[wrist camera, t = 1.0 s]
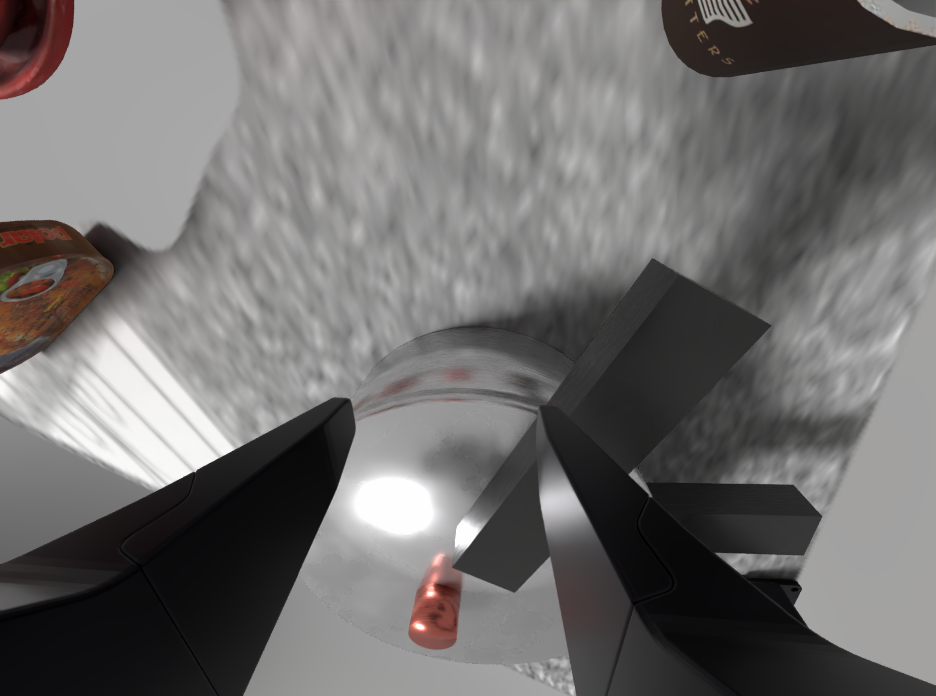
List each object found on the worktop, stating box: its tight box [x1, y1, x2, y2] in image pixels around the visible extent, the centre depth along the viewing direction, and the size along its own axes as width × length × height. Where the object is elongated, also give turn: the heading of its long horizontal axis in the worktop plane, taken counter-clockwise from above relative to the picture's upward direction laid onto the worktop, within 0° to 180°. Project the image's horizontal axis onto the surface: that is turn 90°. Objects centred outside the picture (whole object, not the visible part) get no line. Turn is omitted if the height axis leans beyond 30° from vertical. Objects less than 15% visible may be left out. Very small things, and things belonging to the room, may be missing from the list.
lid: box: [299, 258, 771, 664], centre depth 17 cm, size 25×19×3 cm
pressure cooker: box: [351, 327, 822, 555], centre depth 23 cm, size 28×18×7 cm, turn 94°
